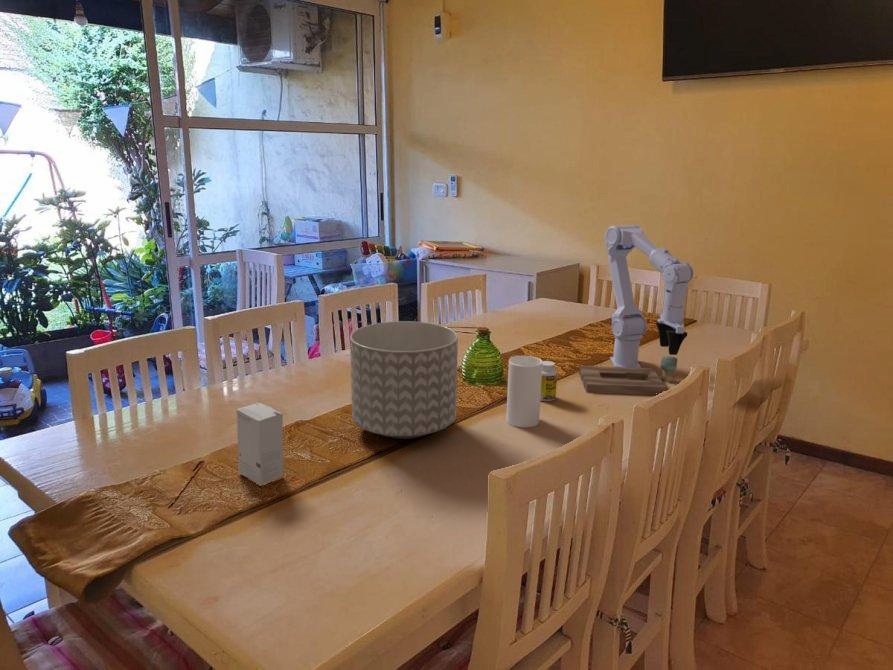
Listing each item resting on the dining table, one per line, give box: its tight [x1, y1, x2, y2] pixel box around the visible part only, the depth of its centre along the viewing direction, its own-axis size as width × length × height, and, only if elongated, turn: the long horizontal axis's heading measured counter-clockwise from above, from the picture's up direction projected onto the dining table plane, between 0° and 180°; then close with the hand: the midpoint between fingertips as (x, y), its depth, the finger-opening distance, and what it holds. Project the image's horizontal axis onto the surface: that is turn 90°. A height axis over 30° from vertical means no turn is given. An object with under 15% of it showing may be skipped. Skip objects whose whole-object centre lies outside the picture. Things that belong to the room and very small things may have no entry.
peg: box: [660, 355, 678, 383], centre depth 196 cm, size 4×4×7 cm
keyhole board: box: [578, 365, 667, 396], centre depth 193 cm, size 16×22×2 cm
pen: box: [192, 459, 204, 471], centre depth 134 cm, size 1×19×1 cm, turn 0°
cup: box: [505, 355, 543, 429], centre depth 164 cm, size 8×8×16 cm
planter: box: [349, 320, 459, 440], centre depth 157 cm, size 25×25×24 cm
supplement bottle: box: [540, 360, 558, 402], centre depth 180 cm, size 6×6×10 cm
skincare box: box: [236, 402, 284, 485], centre depth 135 cm, size 8×6×15 cm
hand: (668, 350), depth 193 cm, fingers open, 7 cm apart
